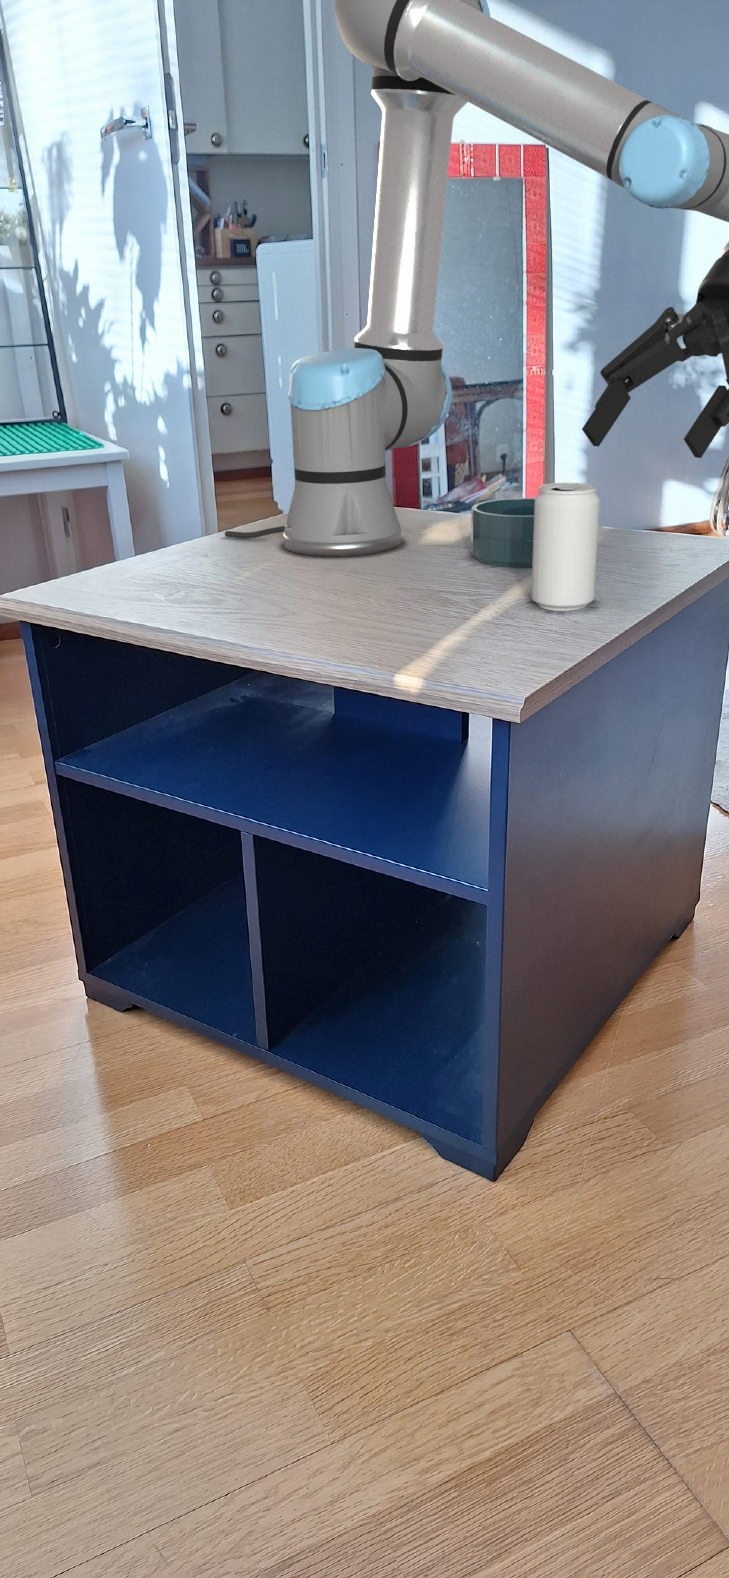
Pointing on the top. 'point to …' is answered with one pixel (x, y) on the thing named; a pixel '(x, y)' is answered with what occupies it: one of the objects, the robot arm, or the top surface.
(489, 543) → the bowl
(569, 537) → the beverage can
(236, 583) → the top surface
